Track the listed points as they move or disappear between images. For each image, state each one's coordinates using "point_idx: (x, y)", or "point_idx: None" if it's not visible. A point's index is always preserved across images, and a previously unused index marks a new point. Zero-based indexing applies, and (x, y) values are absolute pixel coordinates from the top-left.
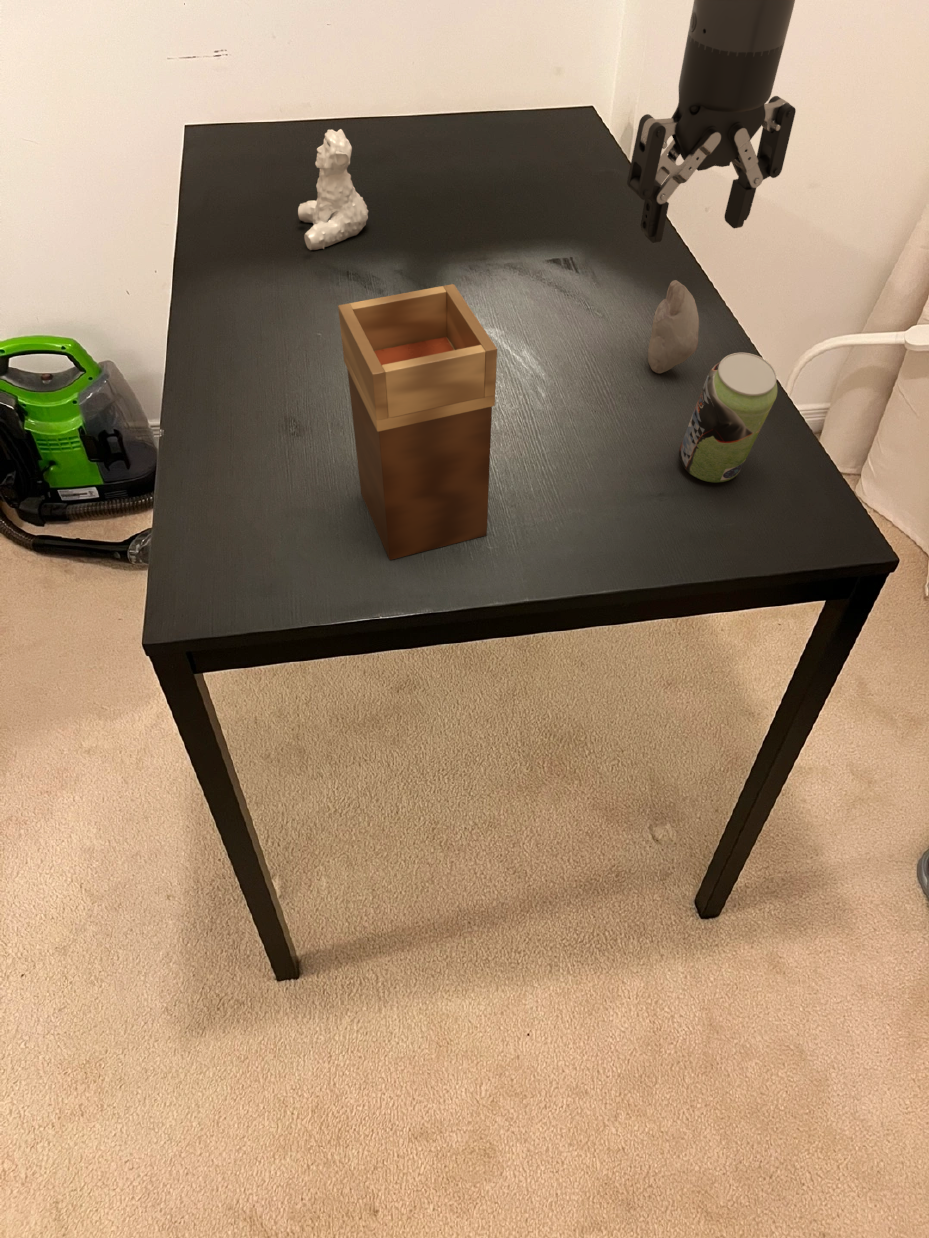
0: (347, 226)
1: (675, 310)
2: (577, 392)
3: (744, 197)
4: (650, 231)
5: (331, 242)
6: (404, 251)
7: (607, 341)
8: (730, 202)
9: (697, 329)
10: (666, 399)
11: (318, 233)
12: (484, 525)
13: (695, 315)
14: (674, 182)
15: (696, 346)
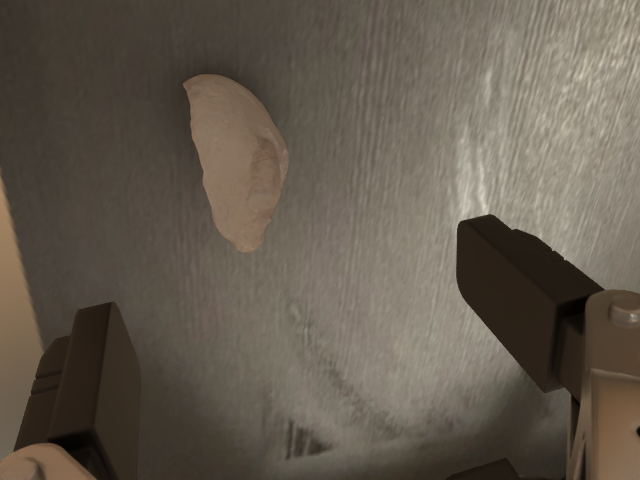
0: None
1: (269, 143)
2: (425, 72)
3: (97, 396)
4: (526, 241)
5: None
6: (519, 457)
7: (308, 229)
8: (132, 416)
9: (196, 102)
10: (251, 8)
11: None
12: None
13: (207, 129)
14: (628, 373)
15: (189, 80)
